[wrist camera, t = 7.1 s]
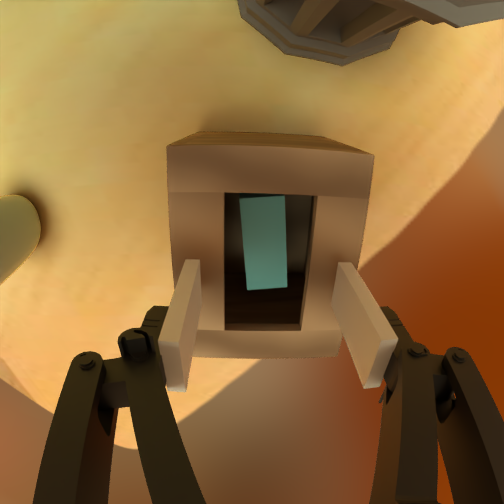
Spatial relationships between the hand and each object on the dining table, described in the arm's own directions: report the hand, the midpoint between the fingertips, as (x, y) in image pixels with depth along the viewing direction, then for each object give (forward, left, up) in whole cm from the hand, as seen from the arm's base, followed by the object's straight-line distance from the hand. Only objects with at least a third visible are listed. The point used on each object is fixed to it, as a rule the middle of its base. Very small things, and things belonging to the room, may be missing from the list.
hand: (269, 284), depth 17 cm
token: (0, 0, -13) cm, 13 cm away
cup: (+1, -26, -14) cm, 29 cm away
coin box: (0, 0, -14) cm, 14 cm away
